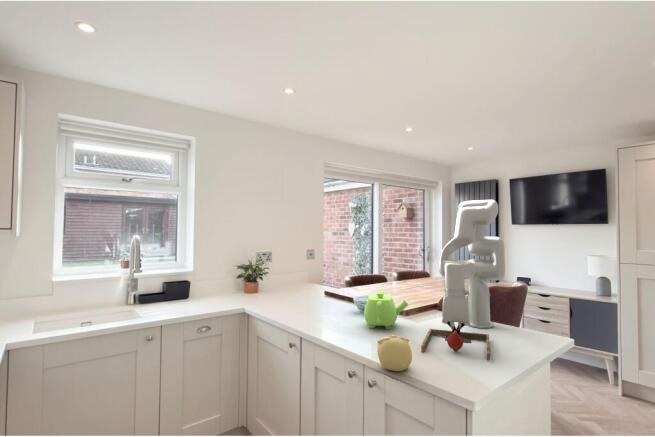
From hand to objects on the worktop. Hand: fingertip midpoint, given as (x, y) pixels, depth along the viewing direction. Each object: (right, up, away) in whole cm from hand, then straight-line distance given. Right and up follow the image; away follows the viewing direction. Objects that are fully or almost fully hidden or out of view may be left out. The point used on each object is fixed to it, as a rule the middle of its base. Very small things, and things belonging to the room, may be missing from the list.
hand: (456, 338), depth 140 cm
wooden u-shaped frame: (0, -3, 0) cm, 3 cm away
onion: (-3, -3, -6) cm, 8 cm away
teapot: (-23, -4, +32) cm, 40 cm away
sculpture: (-29, -3, -20) cm, 35 cm away
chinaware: (-29, -5, +58) cm, 66 cm away
